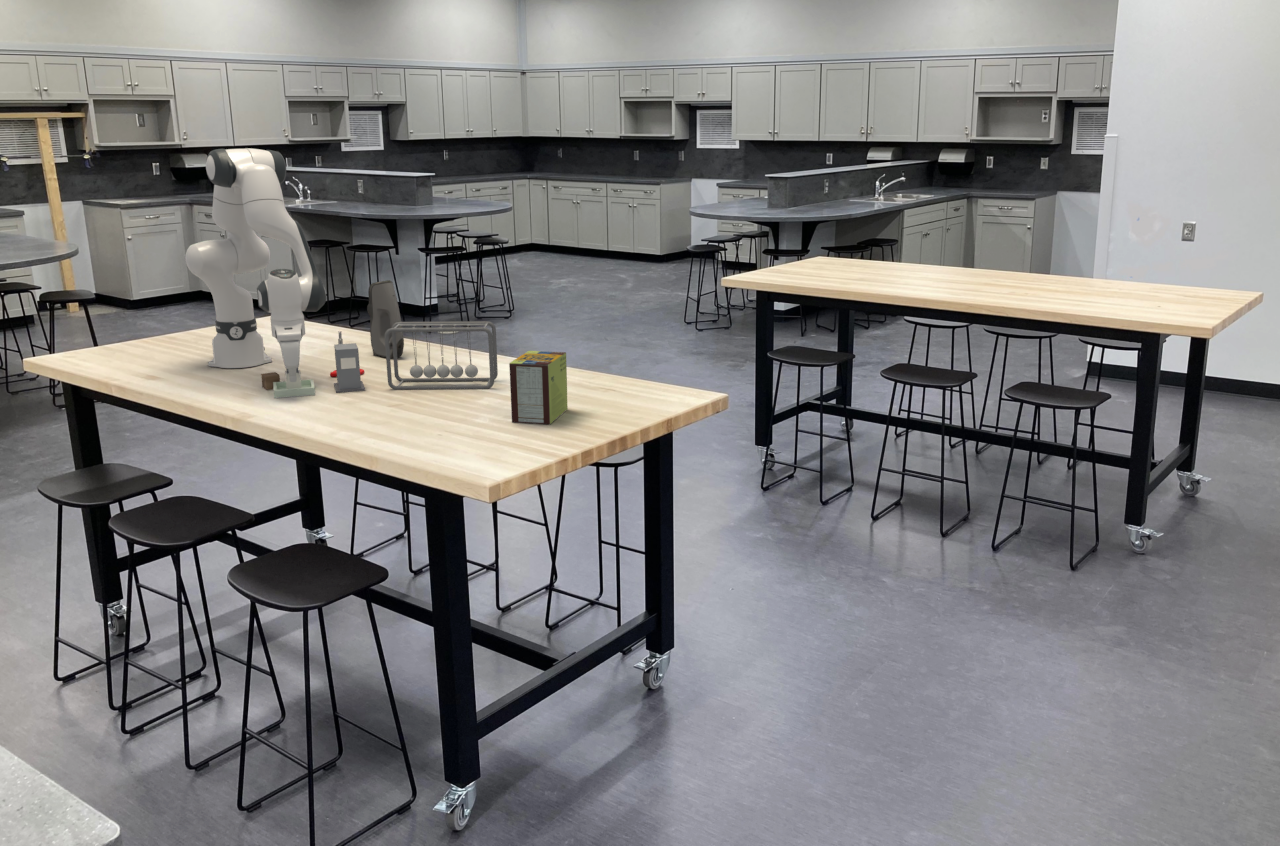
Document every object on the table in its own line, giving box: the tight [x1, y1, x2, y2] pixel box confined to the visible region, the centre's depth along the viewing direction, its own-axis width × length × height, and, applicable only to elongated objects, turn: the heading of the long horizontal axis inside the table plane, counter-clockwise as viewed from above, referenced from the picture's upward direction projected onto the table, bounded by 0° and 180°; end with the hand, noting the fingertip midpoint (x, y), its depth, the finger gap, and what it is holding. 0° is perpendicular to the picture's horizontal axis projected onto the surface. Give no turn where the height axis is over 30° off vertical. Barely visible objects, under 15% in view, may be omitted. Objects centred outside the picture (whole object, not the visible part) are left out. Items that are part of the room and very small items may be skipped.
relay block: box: [284, 367, 302, 389], centre depth 295 cm, size 4×4×6 cm
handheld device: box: [366, 279, 405, 360], centre depth 338 cm, size 6×15×25 cm, turn 46°
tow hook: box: [329, 330, 365, 378], centre depth 316 cm, size 9×14×10 cm
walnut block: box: [260, 371, 281, 391], centre depth 301 cm, size 4×4×4 cm
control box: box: [333, 342, 366, 394], centre depth 299 cm, size 10×8×12 cm
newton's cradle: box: [385, 320, 499, 391], centre depth 301 cm, size 30×10×18 cm, turn 91°
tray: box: [272, 378, 316, 399], centre depth 295 cm, size 11×11×2 cm
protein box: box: [508, 350, 569, 425], centre depth 269 cm, size 10×15×16 cm
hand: (292, 377), depth 295 cm, fingers open, 8 cm apart
